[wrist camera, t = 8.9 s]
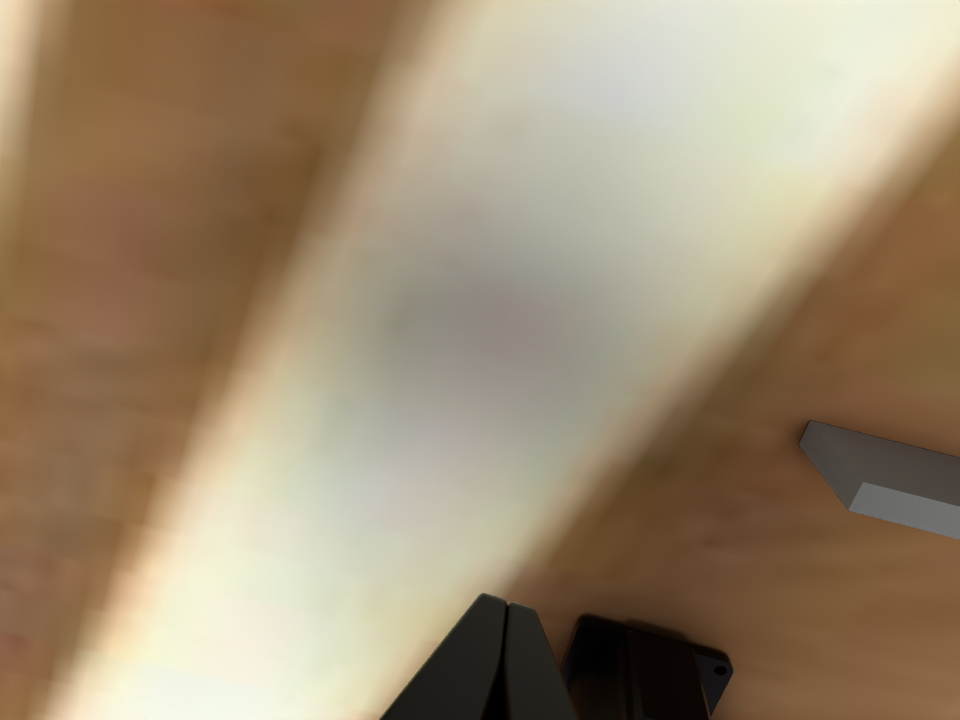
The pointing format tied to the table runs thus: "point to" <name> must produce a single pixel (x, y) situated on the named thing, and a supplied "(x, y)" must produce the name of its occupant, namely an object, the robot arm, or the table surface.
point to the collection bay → (887, 478)
